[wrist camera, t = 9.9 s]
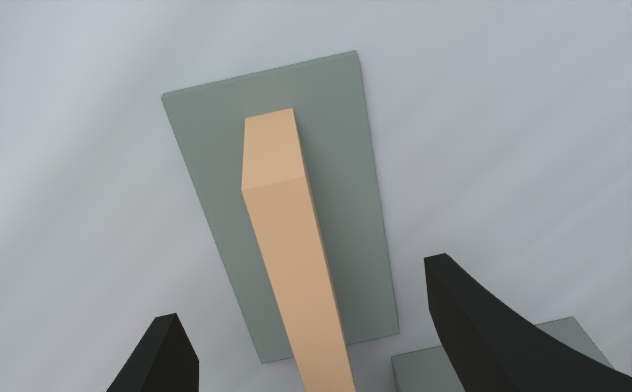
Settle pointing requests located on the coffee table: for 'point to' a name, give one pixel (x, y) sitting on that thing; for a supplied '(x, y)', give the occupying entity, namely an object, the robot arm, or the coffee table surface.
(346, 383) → the tall tan wooden post
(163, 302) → the coffee table surface
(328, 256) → the slate mat
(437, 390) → the dispenser
